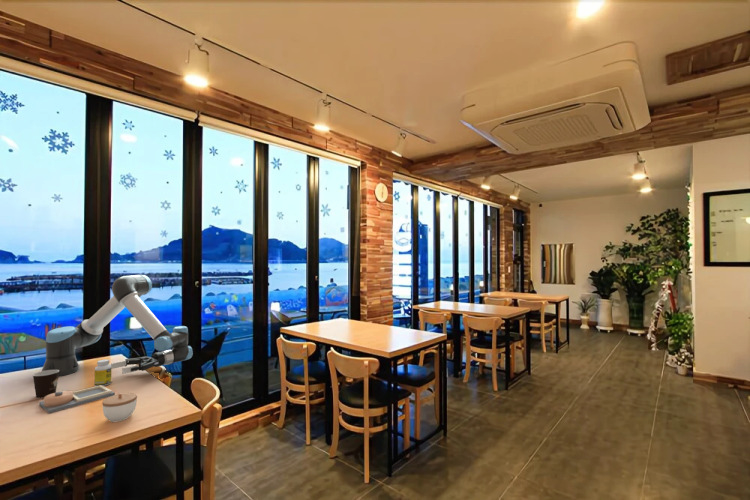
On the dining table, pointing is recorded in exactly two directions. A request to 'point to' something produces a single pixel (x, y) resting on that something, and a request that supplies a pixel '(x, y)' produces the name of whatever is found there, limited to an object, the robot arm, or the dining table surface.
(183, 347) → the robot arm
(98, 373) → the pill bottle
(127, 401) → the lidded jar
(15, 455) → the dining table surface
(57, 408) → the board
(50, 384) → the dark brown tapered cup
